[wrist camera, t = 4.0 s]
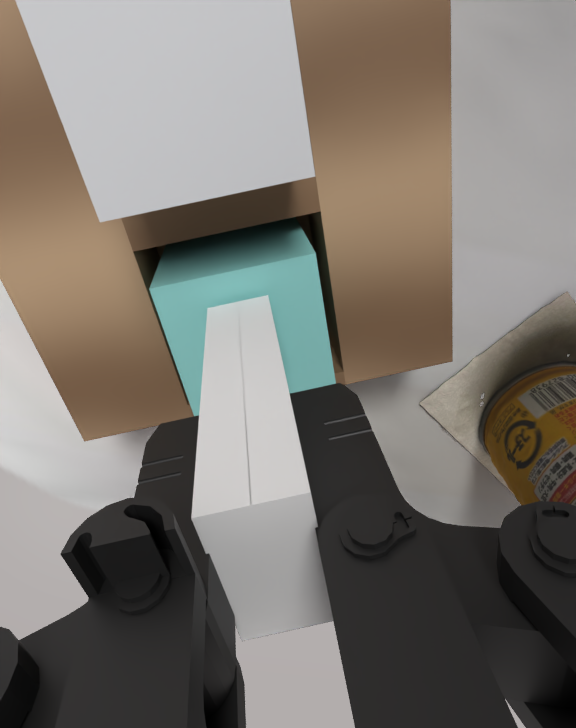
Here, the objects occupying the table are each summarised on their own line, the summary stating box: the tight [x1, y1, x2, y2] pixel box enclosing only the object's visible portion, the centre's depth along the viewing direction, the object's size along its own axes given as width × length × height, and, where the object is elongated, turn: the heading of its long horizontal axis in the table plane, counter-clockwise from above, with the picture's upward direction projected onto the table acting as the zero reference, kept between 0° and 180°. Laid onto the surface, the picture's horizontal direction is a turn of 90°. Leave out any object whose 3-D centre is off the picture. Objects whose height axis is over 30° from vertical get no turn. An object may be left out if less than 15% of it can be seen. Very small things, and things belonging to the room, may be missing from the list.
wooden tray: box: [0, 0, 452, 441], centre depth 12 cm, size 18×12×4 cm, turn 10°
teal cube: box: [149, 217, 336, 416], centre depth 14 cm, size 4×4×4 cm
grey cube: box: [15, 0, 315, 222], centre depth 9 cm, size 4×4×4 cm
